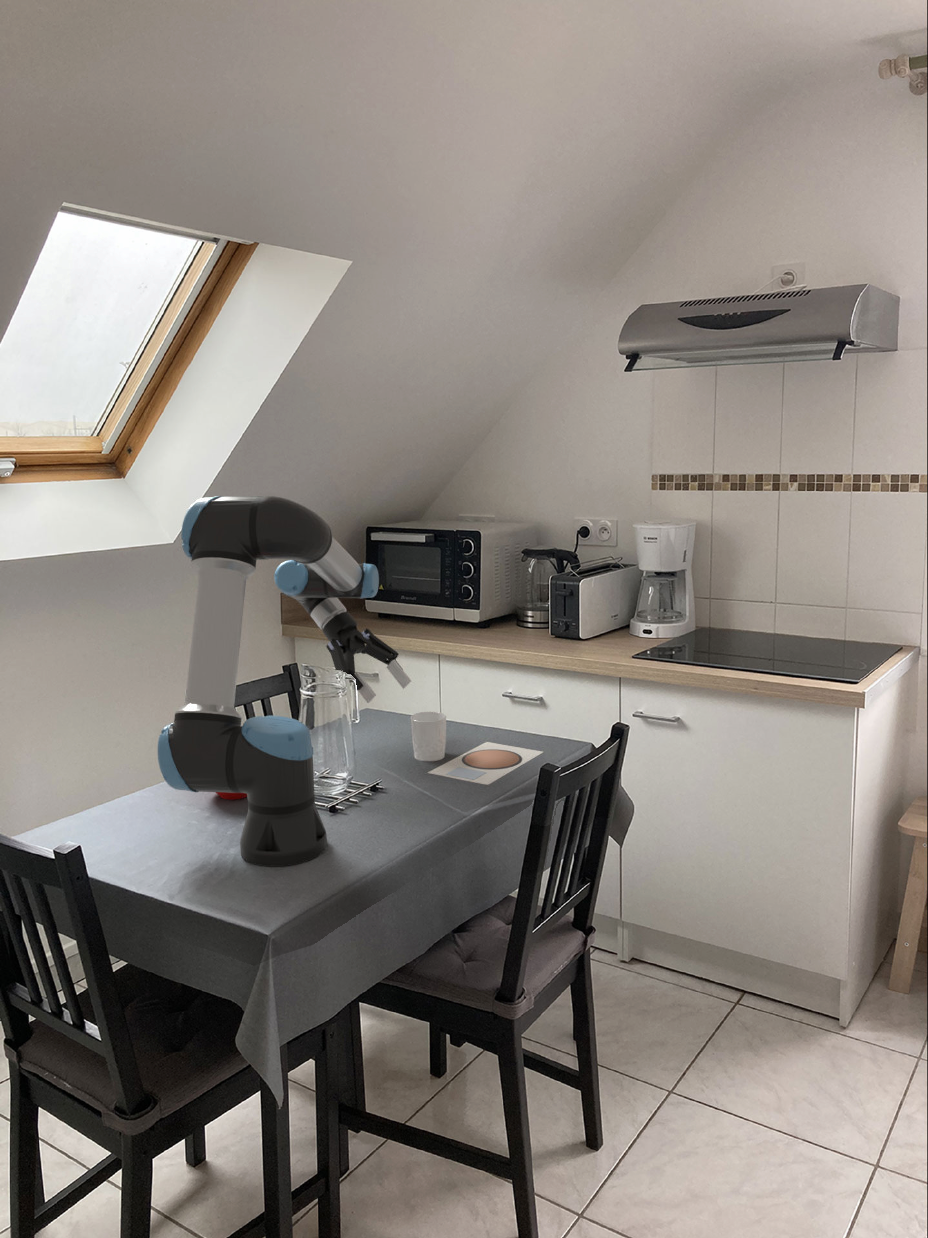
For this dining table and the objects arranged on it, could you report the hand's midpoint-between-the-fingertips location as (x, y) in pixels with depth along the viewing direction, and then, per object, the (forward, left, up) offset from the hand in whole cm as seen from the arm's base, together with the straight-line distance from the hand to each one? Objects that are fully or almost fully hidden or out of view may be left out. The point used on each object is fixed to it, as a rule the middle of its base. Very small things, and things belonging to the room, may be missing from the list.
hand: (390, 691), depth 229 cm
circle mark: (+14, -20, -13) cm, 28 cm away
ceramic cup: (-37, -3, -14) cm, 40 cm away
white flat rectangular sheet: (+12, -20, -14) cm, 28 cm away
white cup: (+4, -9, -14) cm, 18 cm away
